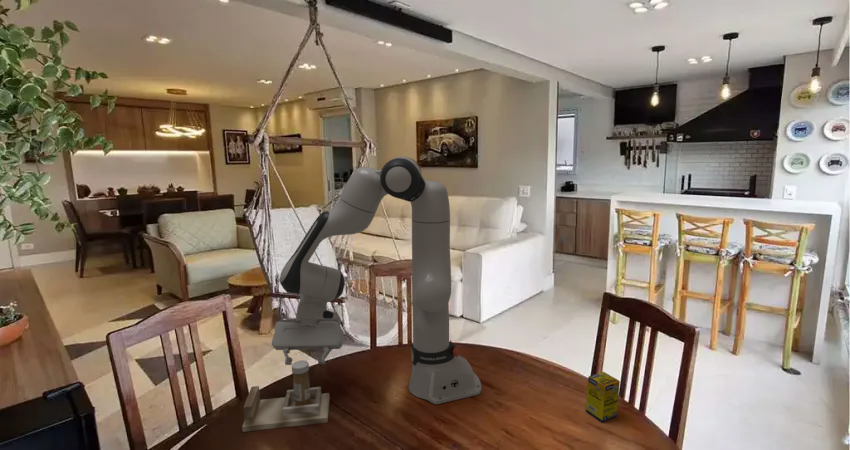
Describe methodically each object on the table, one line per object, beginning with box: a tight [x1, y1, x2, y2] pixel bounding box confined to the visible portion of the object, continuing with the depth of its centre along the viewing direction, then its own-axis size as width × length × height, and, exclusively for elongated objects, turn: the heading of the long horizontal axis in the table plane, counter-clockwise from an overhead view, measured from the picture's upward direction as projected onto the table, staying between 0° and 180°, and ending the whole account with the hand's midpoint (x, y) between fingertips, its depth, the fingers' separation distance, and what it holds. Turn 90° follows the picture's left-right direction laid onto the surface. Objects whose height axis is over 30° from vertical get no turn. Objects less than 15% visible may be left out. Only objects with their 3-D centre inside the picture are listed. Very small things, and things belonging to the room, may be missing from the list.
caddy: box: [241, 385, 331, 433], centre depth 123 cm, size 22×12×6 cm, turn 100°
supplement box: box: [585, 371, 621, 423], centre depth 121 cm, size 6×6×11 cm
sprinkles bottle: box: [291, 360, 311, 406], centre depth 123 cm, size 5×5×14 cm
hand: (304, 364), depth 125 cm, fingers open, 8 cm apart
